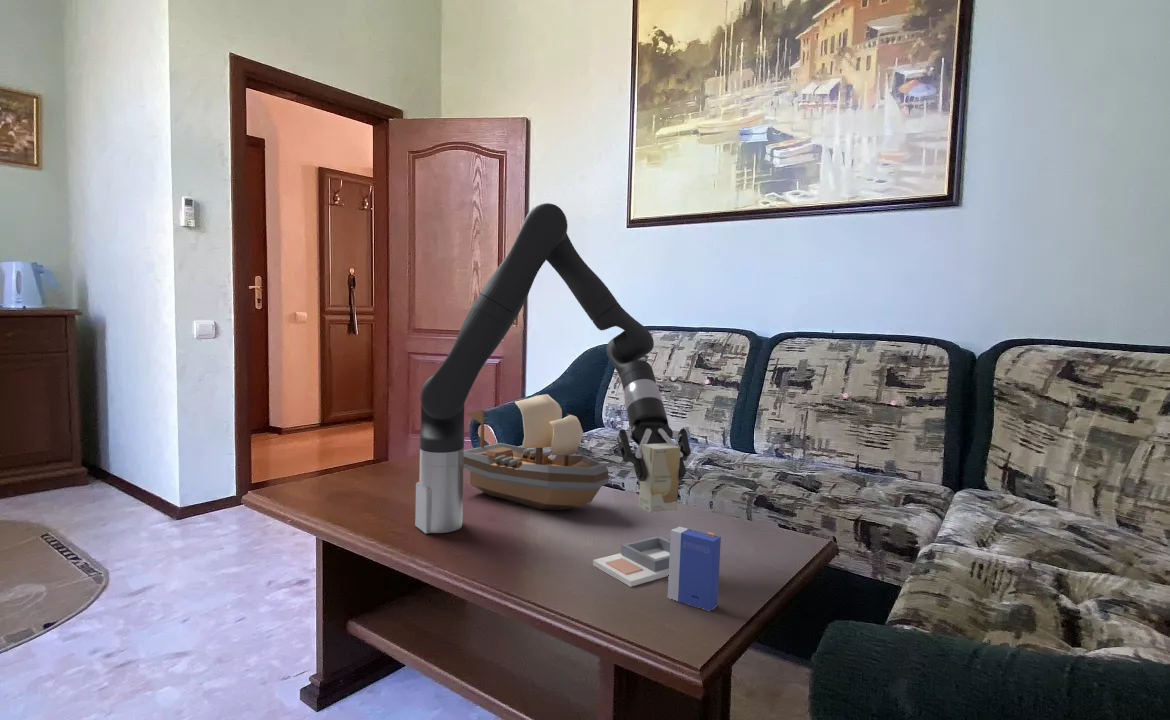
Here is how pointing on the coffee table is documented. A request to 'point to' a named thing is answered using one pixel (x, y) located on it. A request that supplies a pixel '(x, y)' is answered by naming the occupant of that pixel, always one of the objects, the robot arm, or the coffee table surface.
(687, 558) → the walkman
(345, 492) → the coffee table surface
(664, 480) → the skincare box
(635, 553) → the plate
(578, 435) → the sailing ship
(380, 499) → the coffee table surface
